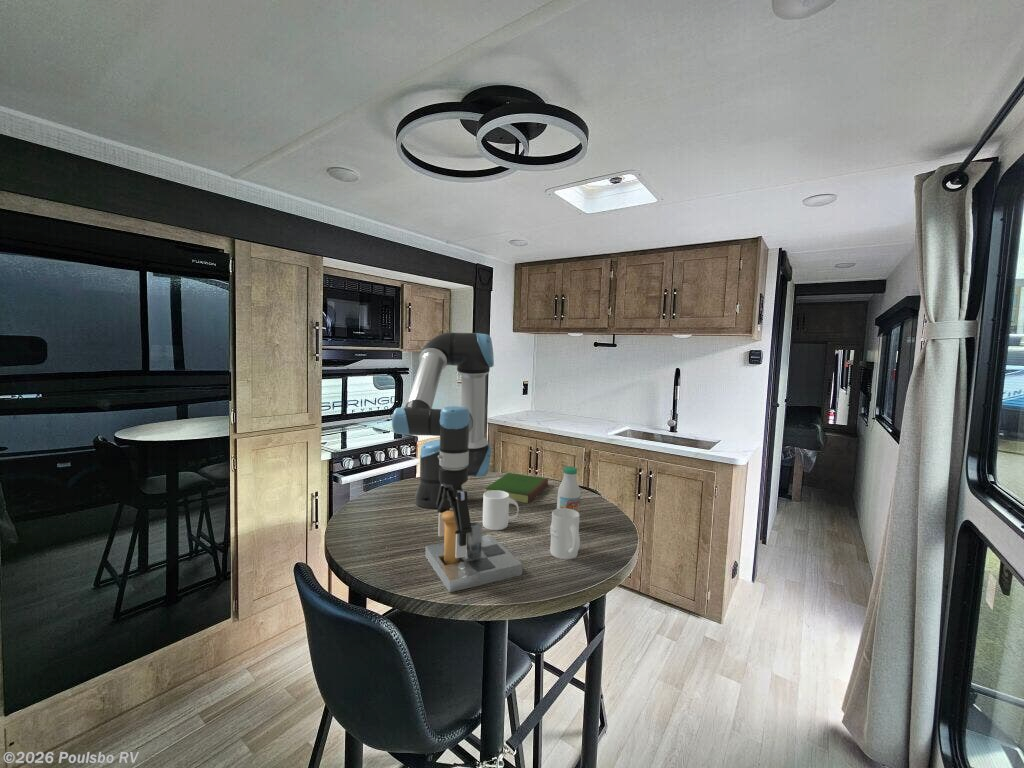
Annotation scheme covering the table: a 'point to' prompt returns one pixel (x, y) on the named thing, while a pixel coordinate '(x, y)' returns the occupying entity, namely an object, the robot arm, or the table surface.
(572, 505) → the milk bottle
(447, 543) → the tan wooden pestle
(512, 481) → the hardcover book
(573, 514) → the mug
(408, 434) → the robot arm
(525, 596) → the table surface
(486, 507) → the mug
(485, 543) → the checkered knob plate
